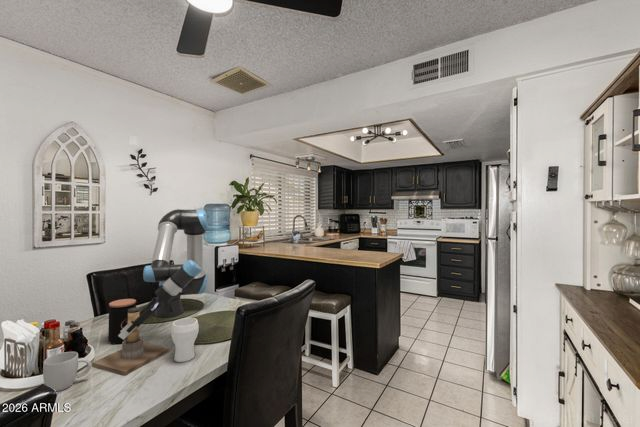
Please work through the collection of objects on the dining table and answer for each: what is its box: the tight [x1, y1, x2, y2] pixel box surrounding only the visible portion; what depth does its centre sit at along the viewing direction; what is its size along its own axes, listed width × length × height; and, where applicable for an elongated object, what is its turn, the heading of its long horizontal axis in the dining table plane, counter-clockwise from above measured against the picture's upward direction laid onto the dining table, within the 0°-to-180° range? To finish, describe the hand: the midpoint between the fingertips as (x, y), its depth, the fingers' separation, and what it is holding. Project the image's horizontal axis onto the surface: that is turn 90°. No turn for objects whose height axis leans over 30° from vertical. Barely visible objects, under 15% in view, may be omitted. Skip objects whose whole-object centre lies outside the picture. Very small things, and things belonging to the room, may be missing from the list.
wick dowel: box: [127, 307, 140, 343], centre depth 119 cm, size 4×4×16 cm
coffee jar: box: [107, 298, 137, 345], centre depth 136 cm, size 11×11×18 cm
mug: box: [42, 351, 92, 392], centre depth 100 cm, size 13×9×10 cm
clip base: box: [91, 336, 170, 376], centre depth 119 cm, size 20×18×8 cm
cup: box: [170, 317, 200, 363], centre depth 121 cm, size 11×11×15 cm
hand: (122, 335), depth 117 cm, fingers closed on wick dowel, 4 cm apart
